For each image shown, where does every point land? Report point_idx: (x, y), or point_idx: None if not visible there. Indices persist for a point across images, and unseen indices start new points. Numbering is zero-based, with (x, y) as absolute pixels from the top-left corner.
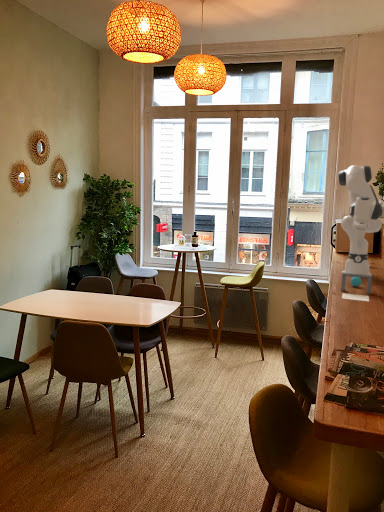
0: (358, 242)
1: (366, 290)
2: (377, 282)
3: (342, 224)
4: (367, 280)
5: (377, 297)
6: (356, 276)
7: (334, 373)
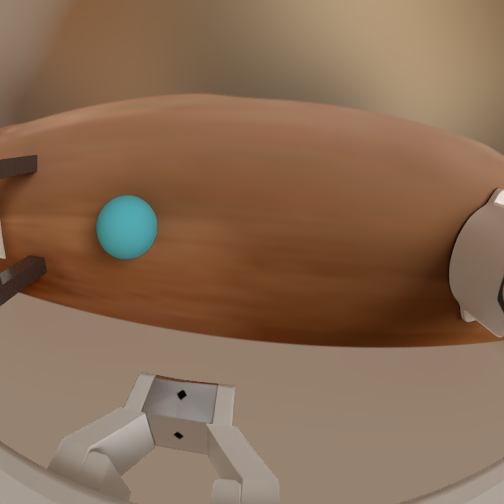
0: (69, 451)
1: (38, 260)
2: (323, 338)
3: None
4: (10, 278)
5: None
6: None
7: None
